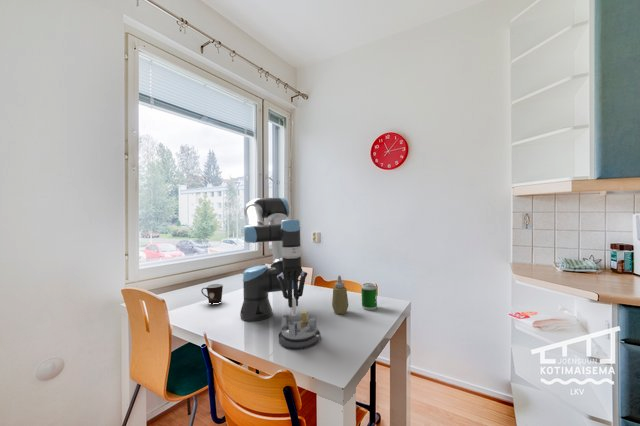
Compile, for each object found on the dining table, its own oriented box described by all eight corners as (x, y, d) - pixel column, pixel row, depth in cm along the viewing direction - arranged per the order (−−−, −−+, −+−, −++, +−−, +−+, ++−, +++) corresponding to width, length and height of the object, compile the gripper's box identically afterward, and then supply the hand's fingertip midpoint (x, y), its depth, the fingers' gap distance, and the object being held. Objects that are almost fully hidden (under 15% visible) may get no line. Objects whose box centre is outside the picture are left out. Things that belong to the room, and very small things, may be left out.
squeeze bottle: (347, 316, 123) (346, 278, 123) (330, 315, 125) (329, 277, 125) (349, 309, 131) (348, 274, 131) (333, 309, 133) (332, 273, 133)
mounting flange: (271, 346, 97) (270, 340, 97) (289, 328, 112) (289, 323, 112) (311, 352, 92) (311, 346, 92) (325, 332, 107) (324, 326, 107)
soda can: (374, 312, 127) (373, 287, 127) (359, 309, 131) (358, 285, 131) (379, 307, 134) (378, 283, 134) (365, 304, 138) (364, 282, 138)
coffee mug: (226, 302, 148) (226, 284, 148) (213, 307, 141) (212, 288, 141) (213, 299, 155) (213, 282, 155) (200, 303, 147) (199, 285, 147)
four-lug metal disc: (275, 339, 97) (274, 323, 97) (290, 324, 110) (290, 310, 110) (309, 343, 93) (309, 326, 93) (321, 327, 106) (320, 312, 106)
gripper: (279, 259, 101) (281, 321, 100) (309, 256, 107) (311, 314, 106) (273, 257, 108) (275, 314, 107) (302, 254, 113) (304, 308, 113)
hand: (293, 314), depth 107 cm, fingers closed
